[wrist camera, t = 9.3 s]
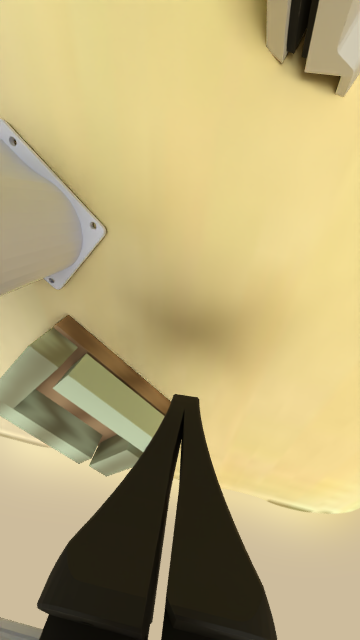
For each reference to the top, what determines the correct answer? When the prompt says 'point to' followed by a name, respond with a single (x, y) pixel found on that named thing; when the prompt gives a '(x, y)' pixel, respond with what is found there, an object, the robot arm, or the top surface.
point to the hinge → (318, 36)
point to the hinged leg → (110, 401)
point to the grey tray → (60, 413)
